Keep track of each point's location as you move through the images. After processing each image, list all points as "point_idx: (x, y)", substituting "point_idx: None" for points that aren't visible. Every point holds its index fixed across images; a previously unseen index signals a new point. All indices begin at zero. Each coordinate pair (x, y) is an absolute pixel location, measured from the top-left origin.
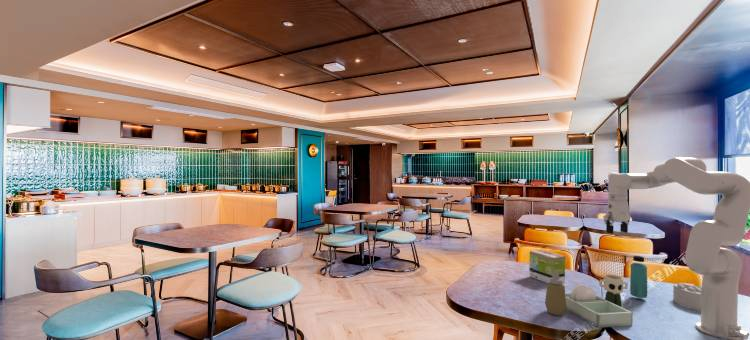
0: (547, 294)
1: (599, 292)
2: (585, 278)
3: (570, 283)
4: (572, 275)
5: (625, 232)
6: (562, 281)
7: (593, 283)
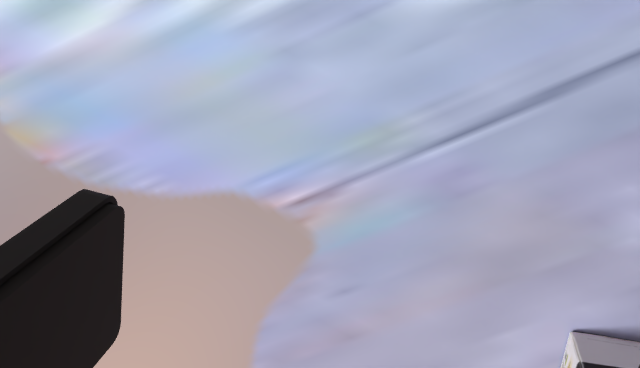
0: None
1: (577, 98)
2: (320, 292)
3: (543, 302)
4: (336, 364)
5: (114, 224)
6: (599, 342)
7: (385, 216)
